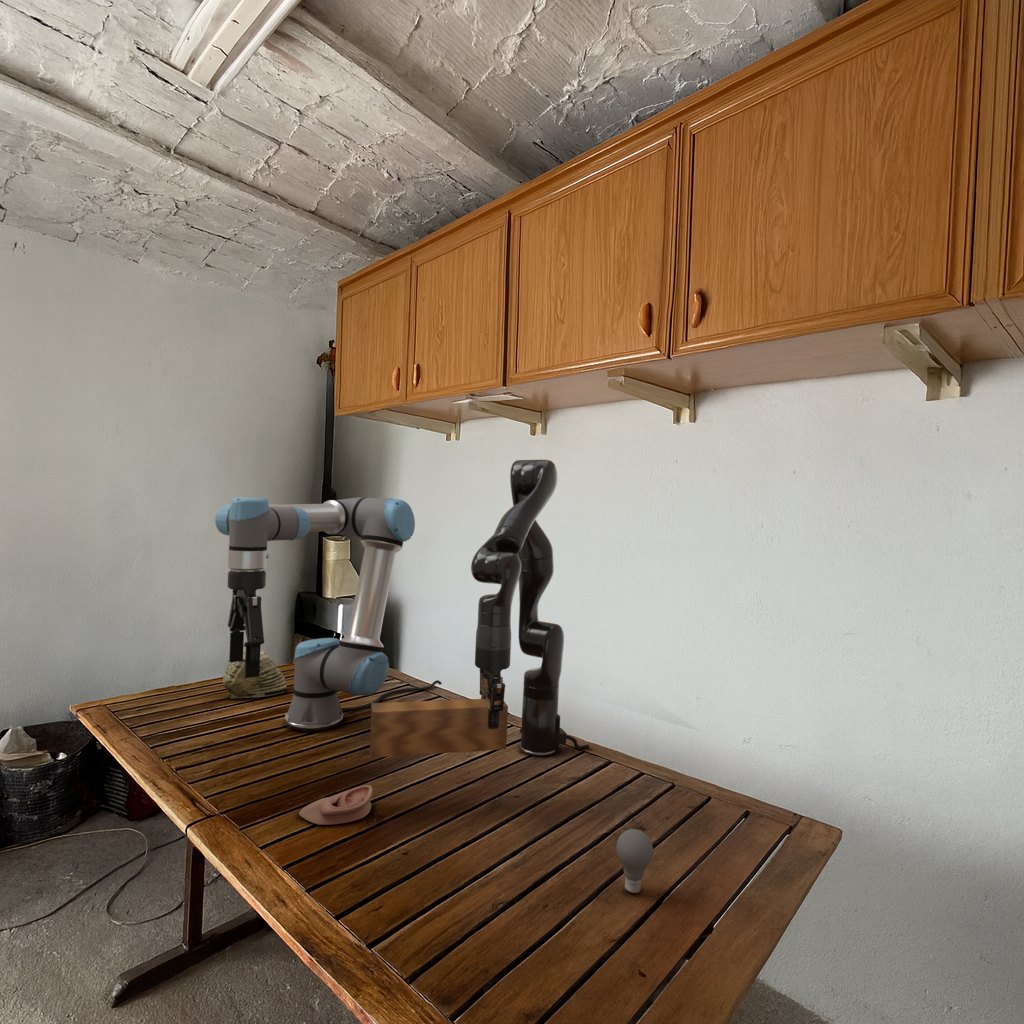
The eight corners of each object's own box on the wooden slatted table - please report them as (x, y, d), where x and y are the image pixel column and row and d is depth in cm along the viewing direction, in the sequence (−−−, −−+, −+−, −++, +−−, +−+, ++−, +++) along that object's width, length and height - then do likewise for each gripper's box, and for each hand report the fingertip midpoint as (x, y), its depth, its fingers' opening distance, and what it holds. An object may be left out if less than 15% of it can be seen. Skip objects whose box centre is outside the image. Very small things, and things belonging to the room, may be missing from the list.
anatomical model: (291, 800, 123) (320, 775, 134) (290, 820, 123) (320, 794, 134) (354, 810, 120) (379, 784, 132) (353, 830, 121) (378, 803, 132)
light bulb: (610, 879, 108) (613, 822, 108) (644, 879, 109) (647, 822, 109) (619, 902, 102) (622, 840, 102) (655, 901, 103) (658, 840, 103)
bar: (370, 757, 126) (372, 712, 126) (369, 746, 131) (371, 703, 131) (506, 749, 133) (508, 706, 133) (500, 739, 139) (501, 697, 138)
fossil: (218, 695, 195) (220, 647, 195) (278, 685, 208) (279, 640, 207) (228, 703, 189) (230, 653, 188) (289, 692, 201) (290, 645, 201)
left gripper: (282, 576, 127) (278, 681, 128) (250, 563, 147) (247, 653, 148) (243, 577, 123) (239, 686, 123) (215, 564, 143) (212, 657, 143)
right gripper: (519, 652, 129) (515, 734, 129) (502, 636, 143) (499, 711, 143) (483, 653, 127) (479, 736, 127) (469, 637, 141) (466, 712, 141)
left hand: (243, 668), depth 136 cm, fingers open, 13 cm apart
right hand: (490, 722), depth 135 cm, fingers closed on bar, 5 cm apart
